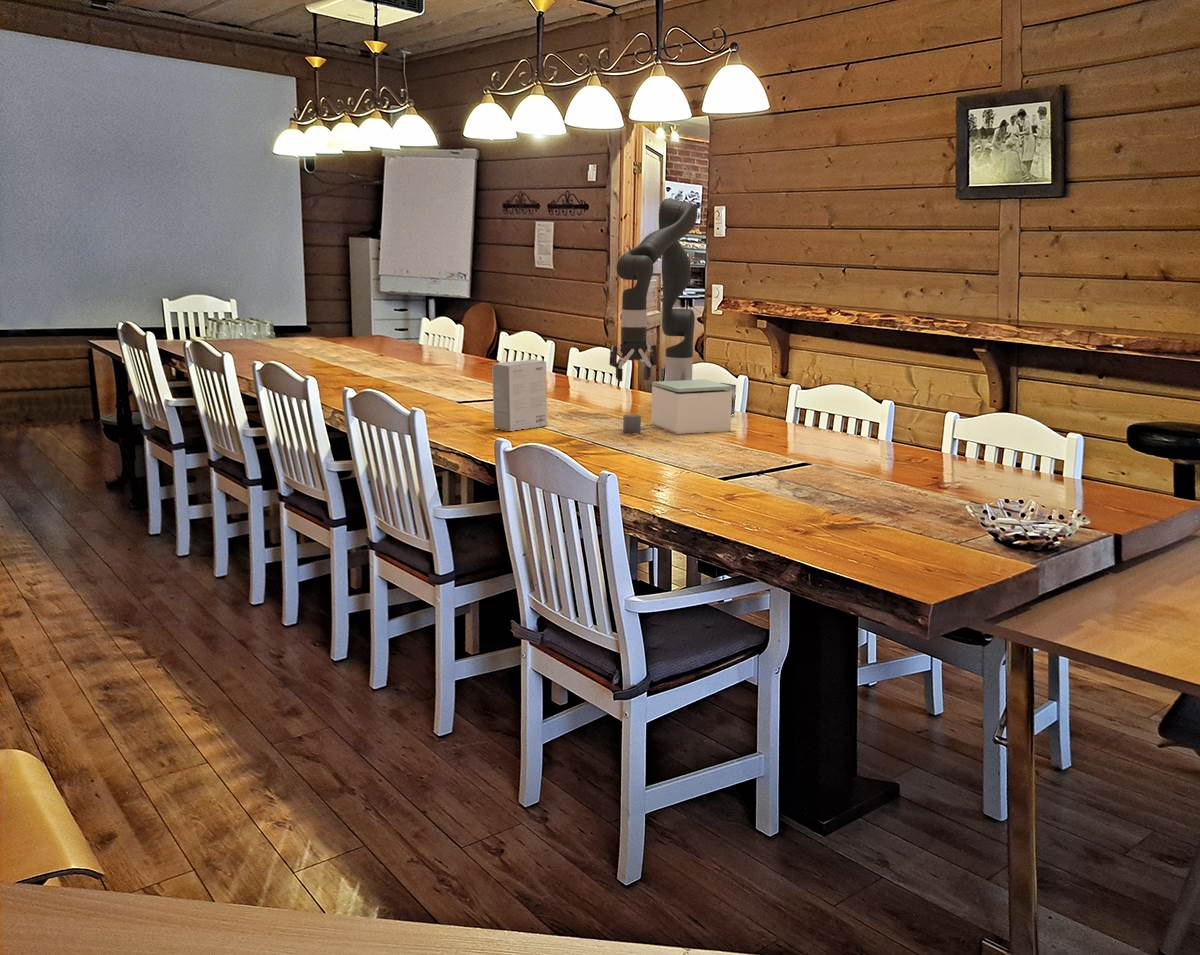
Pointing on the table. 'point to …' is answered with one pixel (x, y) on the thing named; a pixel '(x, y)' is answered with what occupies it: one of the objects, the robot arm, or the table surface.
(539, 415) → the hard drive box
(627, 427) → the dark grey cylinder
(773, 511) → the table surface
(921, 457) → the table surface
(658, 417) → the storage box
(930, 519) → the table surface
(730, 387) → the lid
